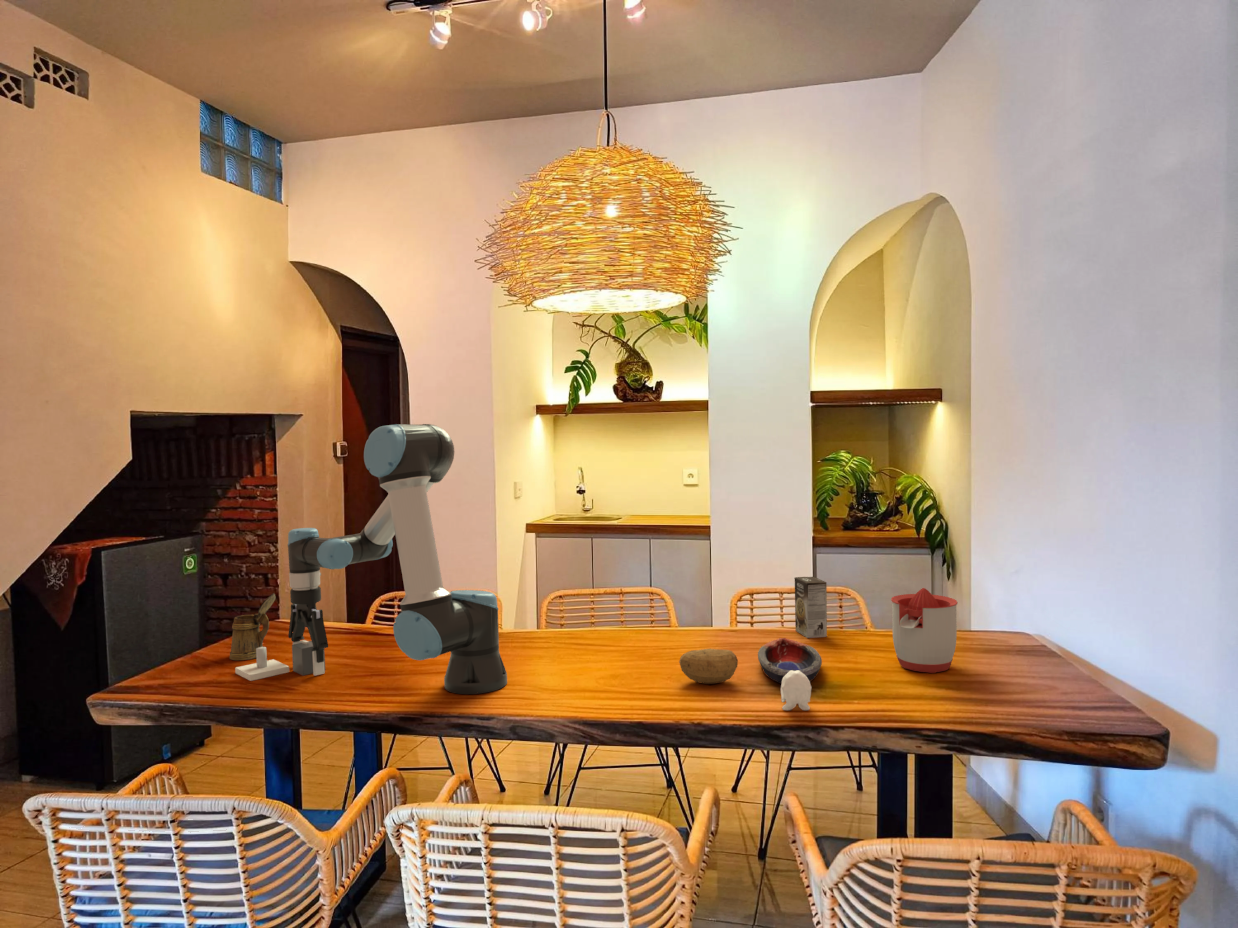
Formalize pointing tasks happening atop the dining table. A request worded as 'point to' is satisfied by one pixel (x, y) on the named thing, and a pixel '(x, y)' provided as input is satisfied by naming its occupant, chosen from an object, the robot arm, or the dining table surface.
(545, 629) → the dining table surface
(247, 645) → the wooden mug
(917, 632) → the citrus juicer
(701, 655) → the potato
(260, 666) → the white peg base
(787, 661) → the dish
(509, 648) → the dining table surface
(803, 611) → the coffee box
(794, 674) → the penguin figurine
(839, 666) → the dining table surface
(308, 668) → the grey rectangular block
